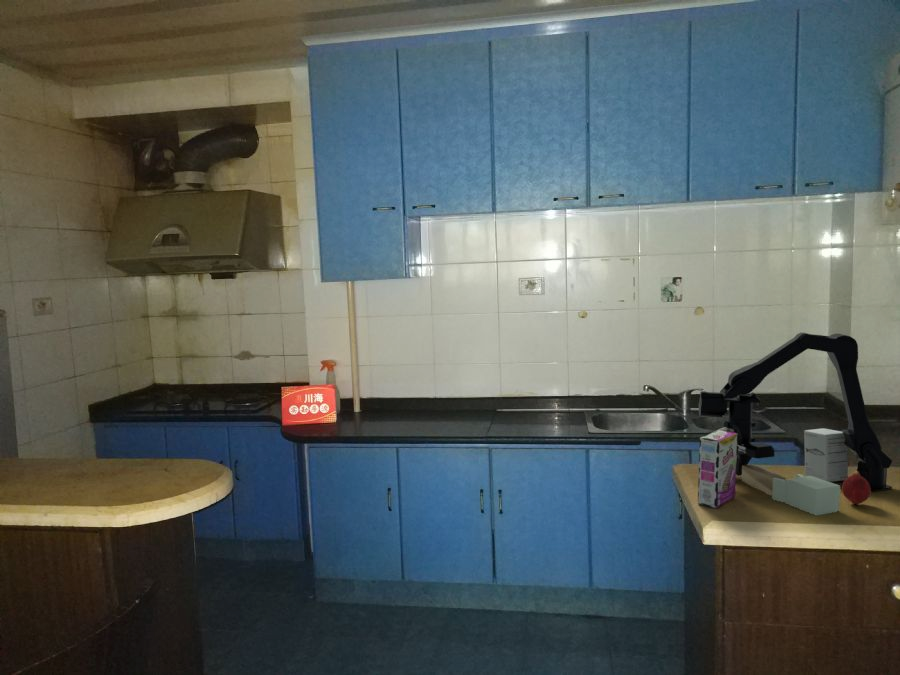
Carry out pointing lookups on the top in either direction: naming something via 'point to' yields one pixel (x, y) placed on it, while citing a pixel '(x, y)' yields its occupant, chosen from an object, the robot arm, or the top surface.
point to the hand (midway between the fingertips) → (738, 475)
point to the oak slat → (759, 477)
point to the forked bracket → (808, 494)
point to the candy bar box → (717, 468)
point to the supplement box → (826, 454)
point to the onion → (856, 488)
